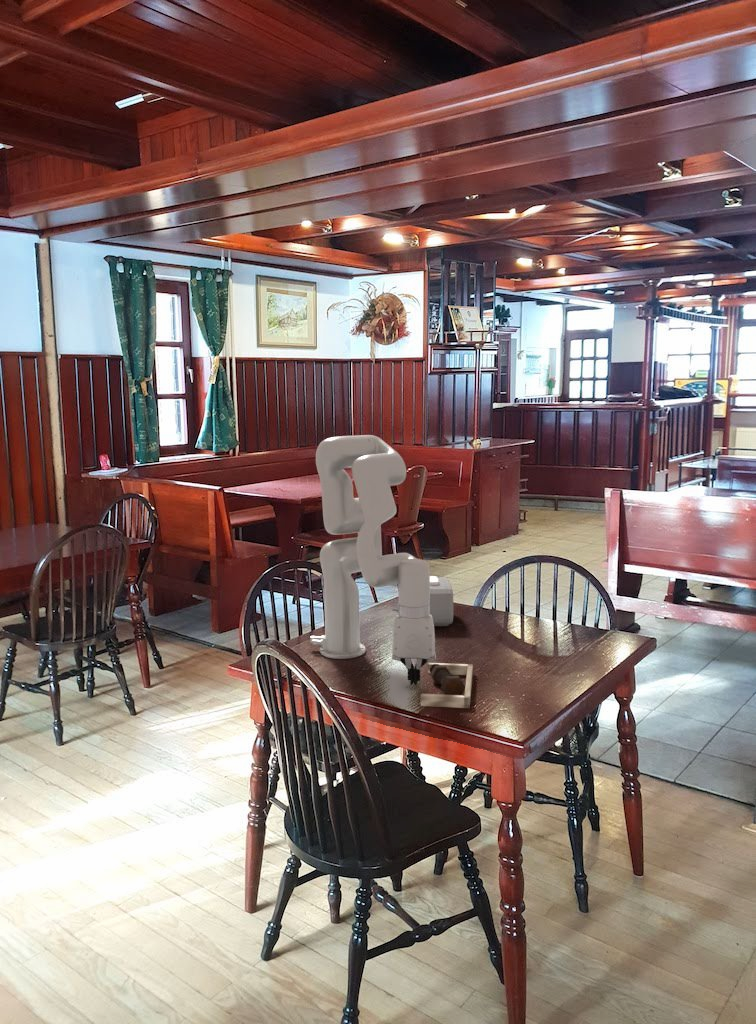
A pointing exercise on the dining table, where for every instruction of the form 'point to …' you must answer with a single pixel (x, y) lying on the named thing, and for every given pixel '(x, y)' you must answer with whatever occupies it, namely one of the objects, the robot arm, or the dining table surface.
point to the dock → (451, 700)
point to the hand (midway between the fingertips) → (413, 682)
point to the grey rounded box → (441, 601)
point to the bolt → (446, 680)
